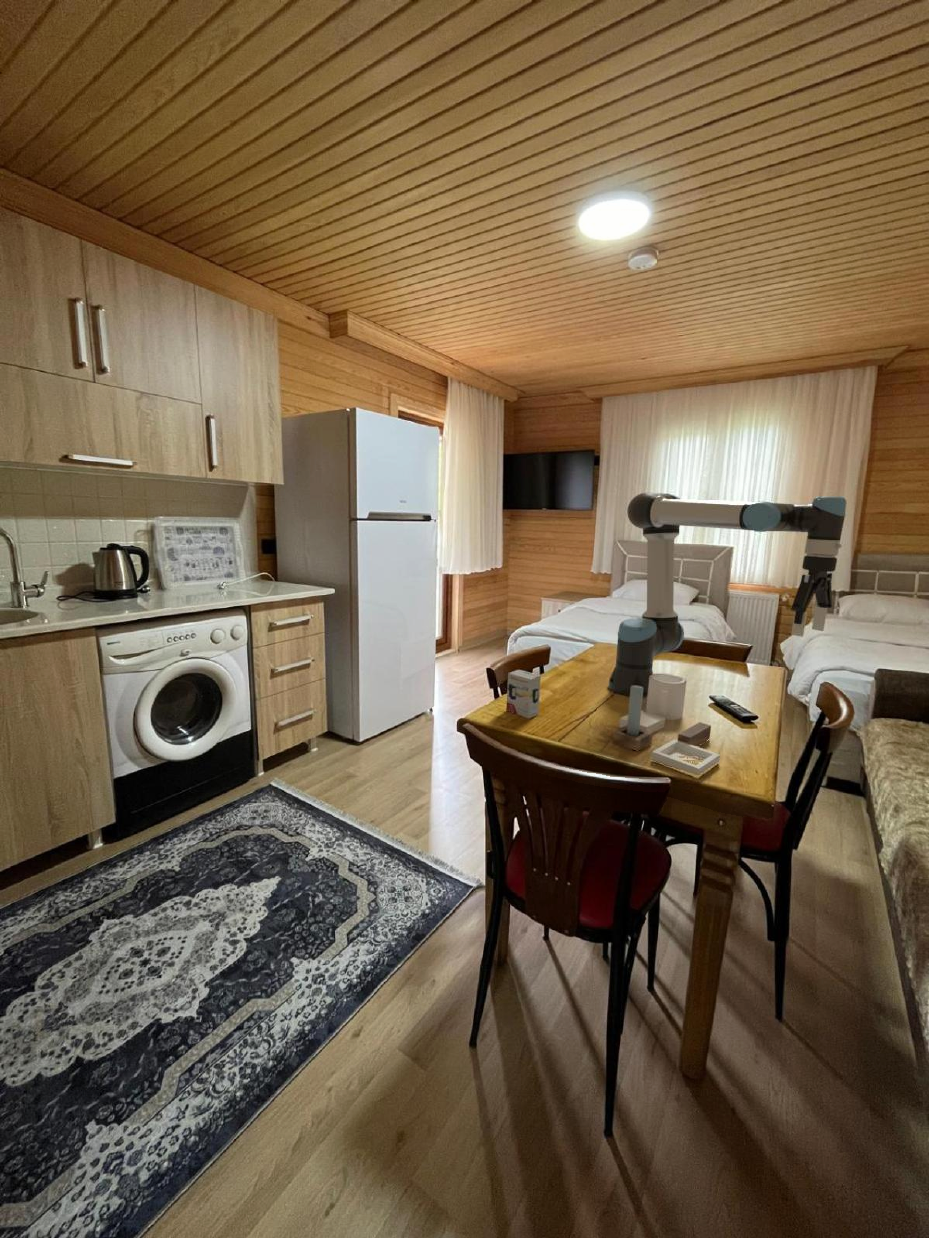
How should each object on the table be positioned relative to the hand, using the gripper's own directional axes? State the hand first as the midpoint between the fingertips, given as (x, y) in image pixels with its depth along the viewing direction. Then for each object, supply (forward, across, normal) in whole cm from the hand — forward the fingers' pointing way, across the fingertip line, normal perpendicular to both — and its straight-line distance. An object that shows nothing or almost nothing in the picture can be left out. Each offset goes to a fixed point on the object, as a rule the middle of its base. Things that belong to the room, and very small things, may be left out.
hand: (807, 632), depth 148 cm
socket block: (+27, -51, +18) cm, 60 cm away
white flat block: (+27, -39, +23) cm, 53 cm away
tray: (+27, -50, +4) cm, 56 cm away
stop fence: (+27, -38, +8) cm, 47 cm away
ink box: (+27, -60, +49) cm, 82 cm away
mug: (+27, -26, +25) cm, 45 cm away
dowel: (+27, -51, +18) cm, 60 cm away
